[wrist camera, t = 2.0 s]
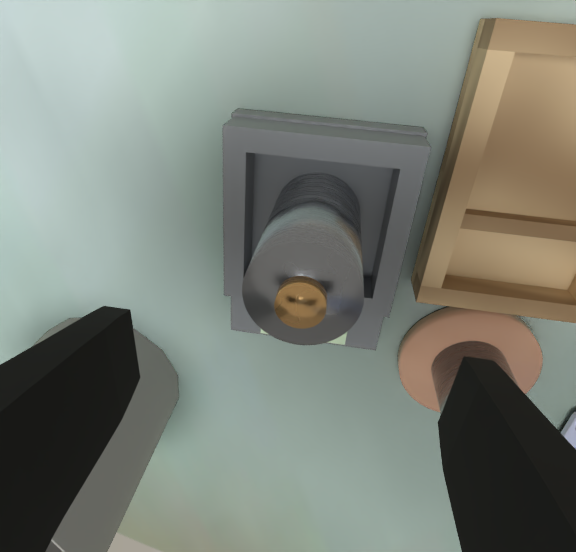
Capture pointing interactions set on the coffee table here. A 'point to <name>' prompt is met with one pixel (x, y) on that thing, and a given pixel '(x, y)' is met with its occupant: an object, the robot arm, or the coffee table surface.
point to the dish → (458, 328)
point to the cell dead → (451, 359)
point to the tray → (508, 179)
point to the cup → (120, 454)
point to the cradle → (332, 160)
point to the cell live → (308, 263)
